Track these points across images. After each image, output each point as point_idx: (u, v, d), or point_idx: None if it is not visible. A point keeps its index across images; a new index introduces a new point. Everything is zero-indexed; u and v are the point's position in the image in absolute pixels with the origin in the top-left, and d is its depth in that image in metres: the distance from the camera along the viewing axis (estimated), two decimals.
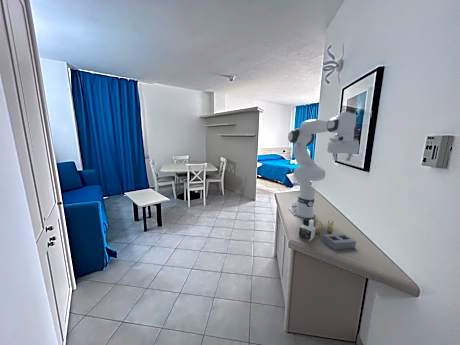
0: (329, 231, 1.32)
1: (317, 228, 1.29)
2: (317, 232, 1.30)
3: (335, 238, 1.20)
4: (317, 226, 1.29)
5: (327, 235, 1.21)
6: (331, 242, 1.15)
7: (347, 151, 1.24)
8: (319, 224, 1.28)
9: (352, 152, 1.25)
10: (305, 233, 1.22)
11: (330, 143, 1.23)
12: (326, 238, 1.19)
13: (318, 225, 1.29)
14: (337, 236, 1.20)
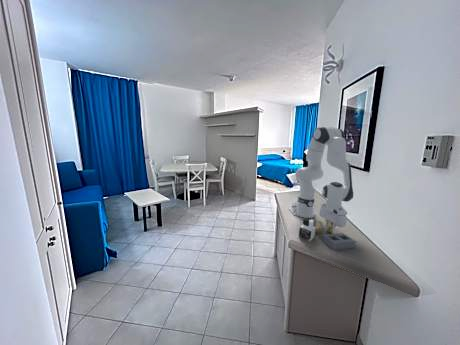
0: (329, 231, 1.32)
1: (317, 228, 1.29)
2: (317, 232, 1.30)
3: (335, 238, 1.20)
4: (317, 226, 1.29)
5: (327, 235, 1.21)
6: (331, 242, 1.15)
7: None
8: (319, 224, 1.28)
9: None
10: (305, 233, 1.22)
11: (343, 218, 1.22)
12: (326, 238, 1.19)
13: (318, 225, 1.29)
14: (337, 236, 1.20)
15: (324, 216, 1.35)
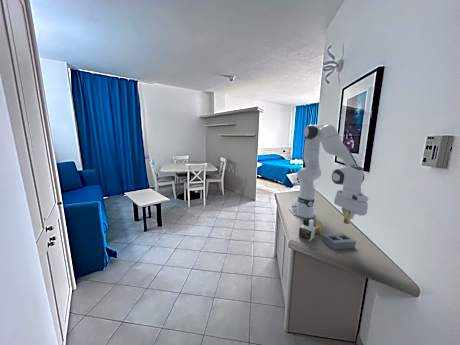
0: (346, 221, 1.16)
1: (317, 228, 1.29)
2: (317, 232, 1.30)
3: (335, 238, 1.20)
4: (317, 226, 1.29)
5: (327, 235, 1.21)
6: (331, 242, 1.15)
7: None
8: (319, 224, 1.28)
9: None
10: (305, 233, 1.22)
11: (363, 205, 1.06)
12: (326, 238, 1.19)
13: (318, 225, 1.29)
14: (337, 236, 1.20)
15: (340, 204, 1.20)
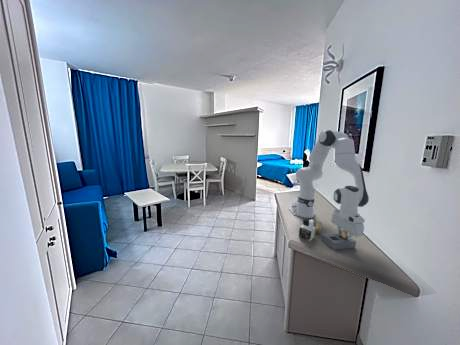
0: None
1: (317, 228, 1.29)
2: (317, 232, 1.30)
3: (335, 238, 1.20)
4: (317, 226, 1.29)
5: (327, 235, 1.21)
6: (331, 242, 1.15)
7: None
8: (319, 224, 1.28)
9: None
10: (305, 233, 1.22)
11: (360, 227, 1.08)
12: (326, 238, 1.19)
13: (318, 225, 1.29)
14: (337, 236, 1.20)
15: (337, 223, 1.22)
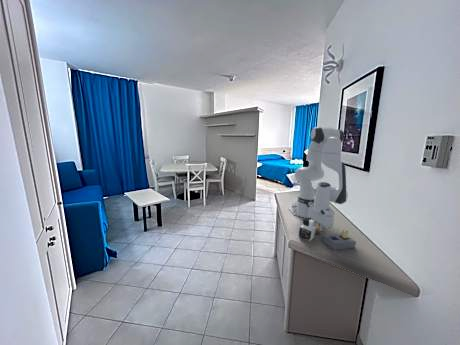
0: None
1: (317, 228, 1.29)
2: (317, 232, 1.30)
3: (335, 238, 1.20)
4: (317, 226, 1.29)
5: (327, 235, 1.21)
6: (331, 242, 1.15)
7: None
8: (319, 224, 1.28)
9: None
10: (305, 233, 1.22)
11: (330, 219, 1.20)
12: (326, 238, 1.19)
13: (318, 225, 1.29)
14: (337, 236, 1.20)
15: (312, 217, 1.33)
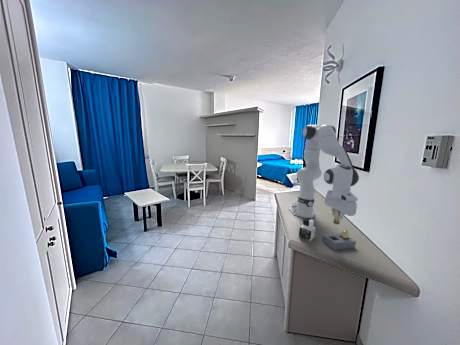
0: None
1: (336, 217, 1.14)
2: (336, 221, 1.15)
3: (335, 238, 1.20)
4: (336, 214, 1.14)
5: (327, 235, 1.21)
6: (331, 242, 1.15)
7: None
8: (338, 212, 1.13)
9: None
10: (305, 233, 1.22)
11: (352, 205, 1.04)
12: (326, 238, 1.19)
13: (337, 213, 1.14)
14: (337, 236, 1.20)
15: (330, 204, 1.18)
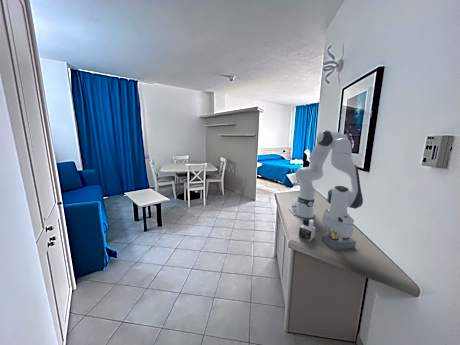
0: None
1: (333, 238, 1.17)
2: None
3: None
4: (333, 236, 1.17)
5: (327, 235, 1.21)
6: (331, 242, 1.15)
7: None
8: (335, 234, 1.16)
9: None
10: (305, 233, 1.22)
11: (349, 228, 1.07)
12: (326, 238, 1.19)
13: (334, 235, 1.16)
14: None
15: (327, 224, 1.20)
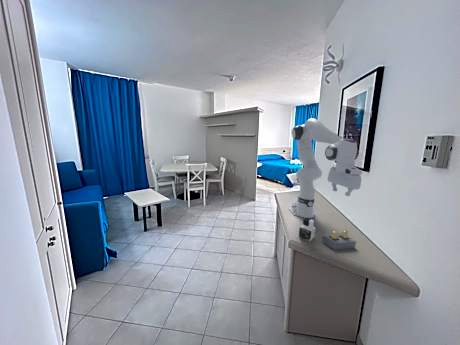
0: None
1: (333, 238, 1.17)
2: None
3: None
4: (333, 236, 1.17)
5: (327, 235, 1.21)
6: (331, 242, 1.15)
7: None
8: (335, 234, 1.16)
9: None
10: (305, 233, 1.22)
11: (357, 178, 1.02)
12: (326, 238, 1.19)
13: (334, 235, 1.16)
14: None
15: (333, 180, 1.16)
